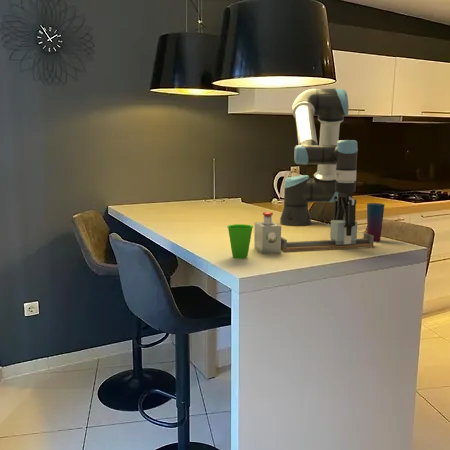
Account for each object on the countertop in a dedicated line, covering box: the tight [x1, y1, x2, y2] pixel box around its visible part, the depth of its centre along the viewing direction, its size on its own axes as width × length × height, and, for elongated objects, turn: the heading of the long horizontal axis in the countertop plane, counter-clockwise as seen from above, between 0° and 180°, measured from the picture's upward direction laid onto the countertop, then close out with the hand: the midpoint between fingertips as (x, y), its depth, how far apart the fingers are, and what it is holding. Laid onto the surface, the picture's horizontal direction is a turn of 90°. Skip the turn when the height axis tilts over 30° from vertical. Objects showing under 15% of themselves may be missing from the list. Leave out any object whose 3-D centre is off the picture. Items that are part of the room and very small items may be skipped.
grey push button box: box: [253, 221, 282, 255], centre depth 183 cm, size 11×7×10 cm, turn 13°
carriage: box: [329, 219, 358, 245], centre depth 190 cm, size 6×8×8 cm
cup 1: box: [227, 223, 254, 260], centre depth 173 cm, size 9×9×11 cm
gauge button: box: [262, 211, 273, 225], centre depth 183 cm, size 4×4×8 cm
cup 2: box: [366, 202, 385, 242], centre depth 202 cm, size 7×7×15 cm
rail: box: [281, 232, 374, 253], centre depth 189 cm, size 6×36×4 cm, turn 103°
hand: (343, 242), depth 191 cm, fingers closed on carriage, 6 cm apart
